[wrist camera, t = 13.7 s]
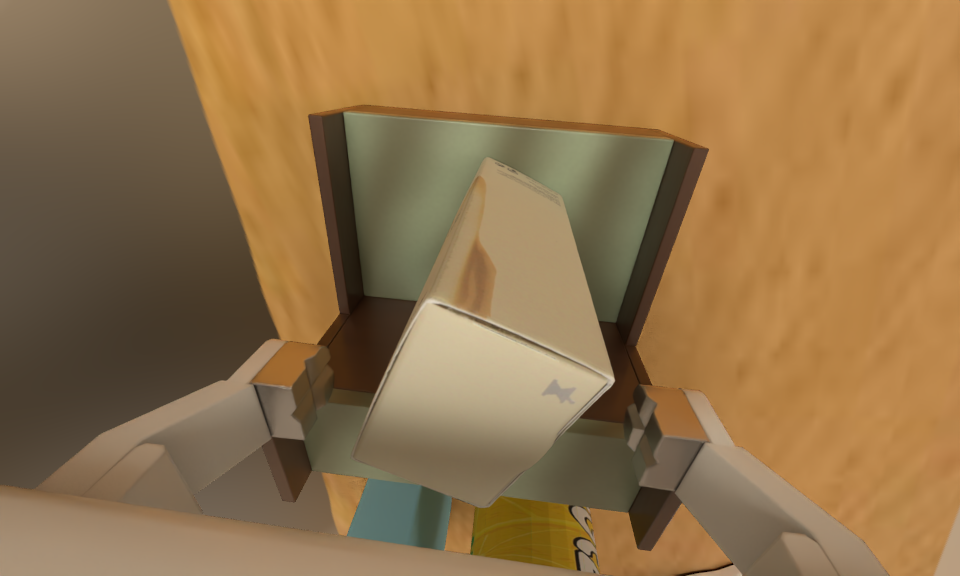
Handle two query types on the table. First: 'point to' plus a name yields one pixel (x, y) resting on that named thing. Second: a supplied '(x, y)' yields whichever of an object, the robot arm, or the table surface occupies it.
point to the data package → (402, 514)
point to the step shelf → (418, 240)
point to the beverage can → (536, 534)
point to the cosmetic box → (490, 348)
